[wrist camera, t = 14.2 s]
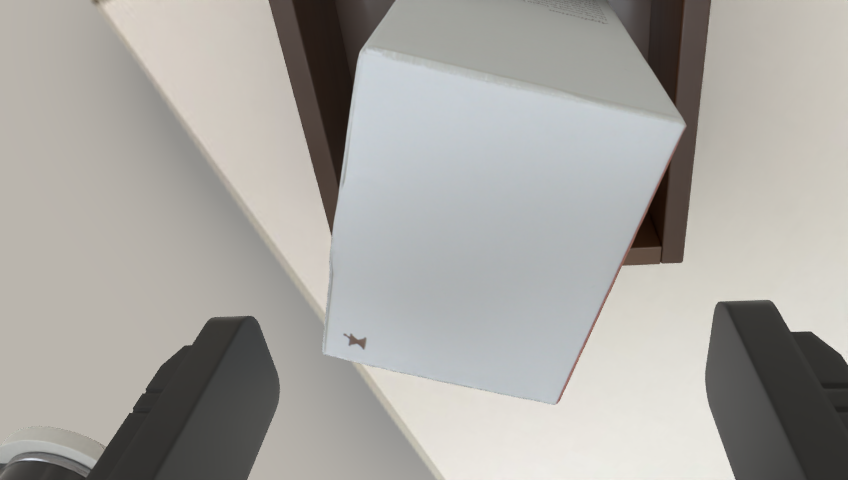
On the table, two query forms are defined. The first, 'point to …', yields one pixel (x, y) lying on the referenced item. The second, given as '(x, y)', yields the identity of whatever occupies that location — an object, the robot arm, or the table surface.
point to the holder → (369, 3)
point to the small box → (491, 189)
